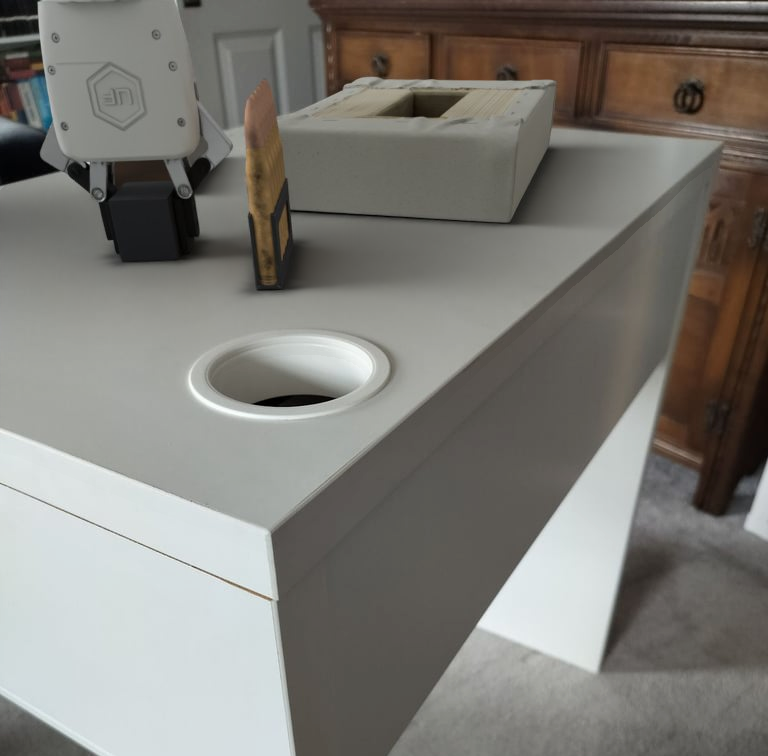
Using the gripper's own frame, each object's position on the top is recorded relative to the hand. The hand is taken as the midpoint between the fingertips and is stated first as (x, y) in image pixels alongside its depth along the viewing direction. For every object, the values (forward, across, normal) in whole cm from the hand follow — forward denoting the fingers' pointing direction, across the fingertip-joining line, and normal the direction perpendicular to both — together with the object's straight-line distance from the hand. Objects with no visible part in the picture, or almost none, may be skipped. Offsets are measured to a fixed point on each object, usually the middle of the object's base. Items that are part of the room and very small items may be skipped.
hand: (156, 245), depth 63 cm
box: (+1, +24, +22) cm, 32 cm away
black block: (0, 0, 0) cm, 0 cm away
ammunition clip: (+1, +10, -5) cm, 11 cm away
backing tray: (0, -4, +26) cm, 26 cm away
